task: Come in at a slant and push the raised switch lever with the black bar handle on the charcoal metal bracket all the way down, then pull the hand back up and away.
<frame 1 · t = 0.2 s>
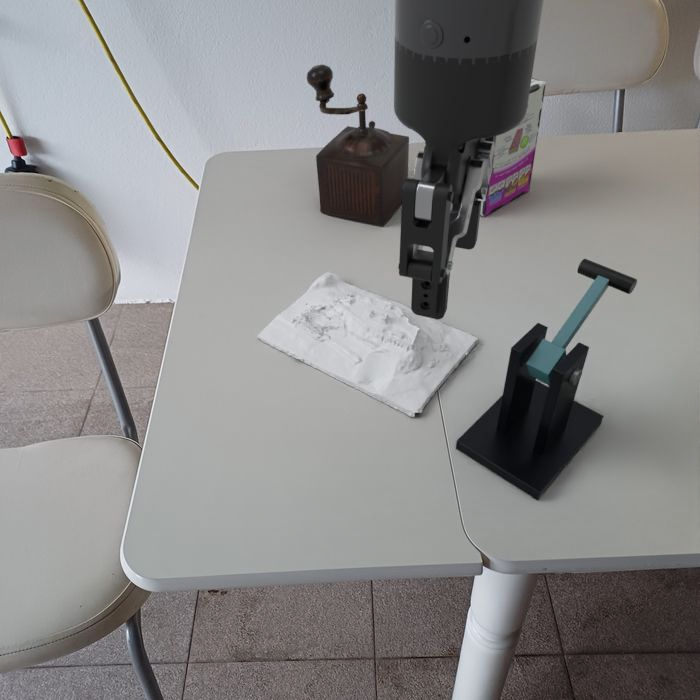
hand: (445, 277, 45), 23 cm above the table, tool pointing down, fingers open, 8 cm apart
candy bar box: (493, 199, 97), on the table
switch bracket: (529, 436, 63), on the table
terrain model: (366, 341, 75), on the table
switch lever: (575, 321, 57), point 12 cm above the table, hinge at 25.0°
manual coffee grinder: (350, 201, 98), on the table
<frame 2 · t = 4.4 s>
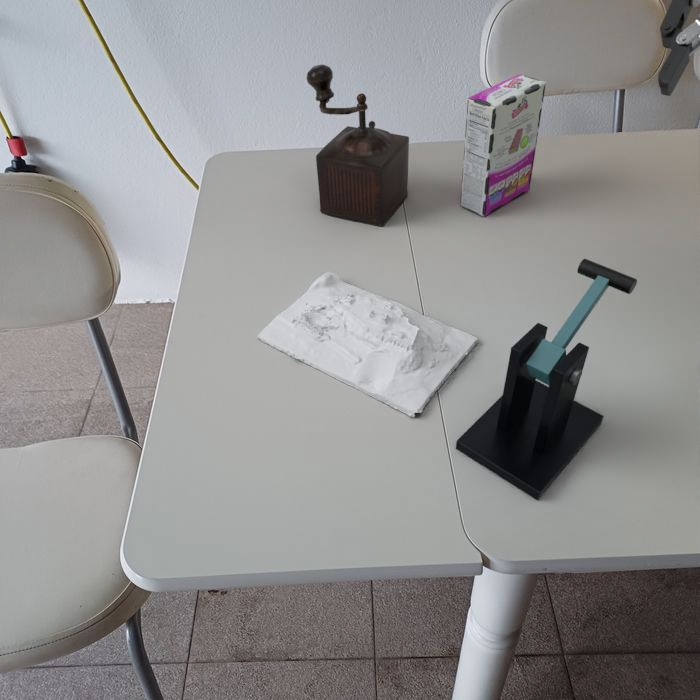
nothing on the table moved.
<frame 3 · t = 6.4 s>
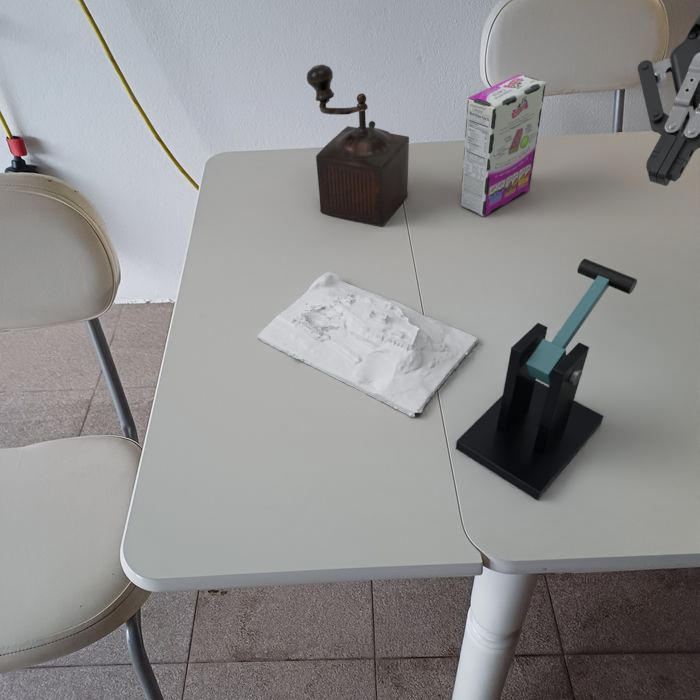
hand: (657, 180, 57), 21 cm above the table, tool tilted 45°, fingers closed
nothing on the table moved.
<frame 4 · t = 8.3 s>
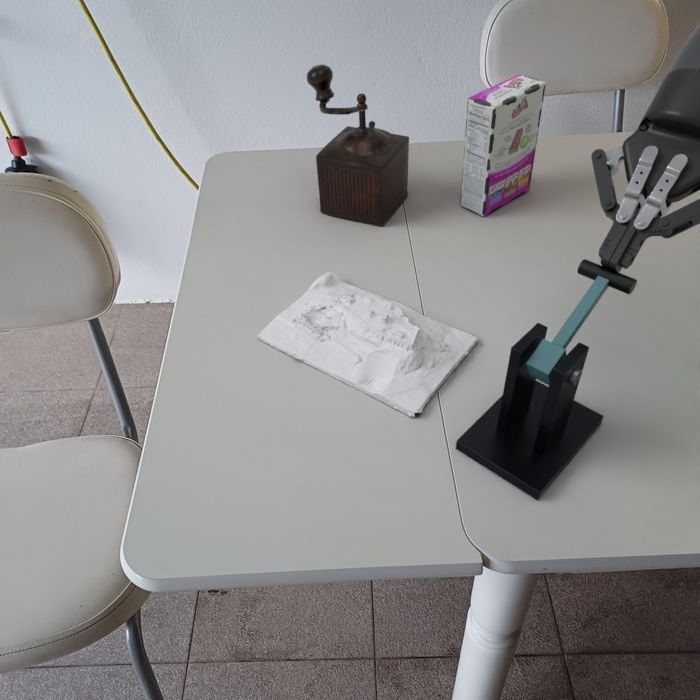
hand: (609, 267, 58), 15 cm above the table, tool tilted 45°, fingers closed
switch lever: (575, 321, 57), point 12 cm above the table, hinge at 24.6°, touching gripper
everything else where it was.
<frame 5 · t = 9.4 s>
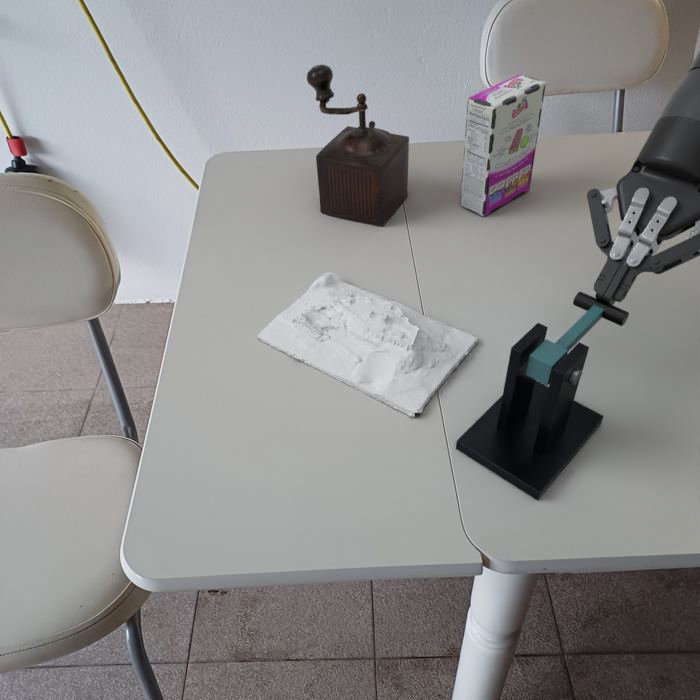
hand: (603, 301, 62), 10 cm above the table, tool tilted 45°, fingers closed
switch lever: (573, 336, 59), point 10 cm above the table, hinge at -0.7°, touching gripper
everything else where it was.
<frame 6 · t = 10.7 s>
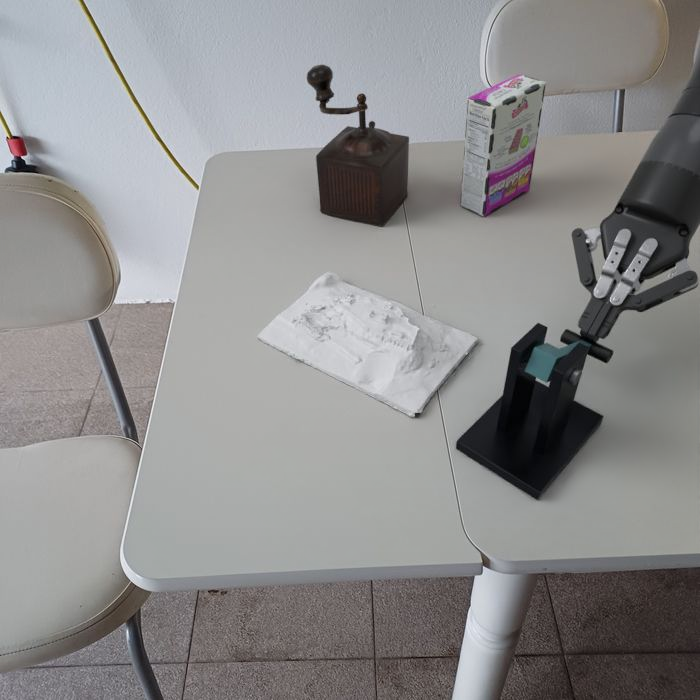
hand: (588, 338, 63), 7 cm above the table, tool tilted 45°, fingers closed
switch lever: (566, 354, 60), point 8 cm above the table, hinge at -25.4°, touching gripper
everything else where it was.
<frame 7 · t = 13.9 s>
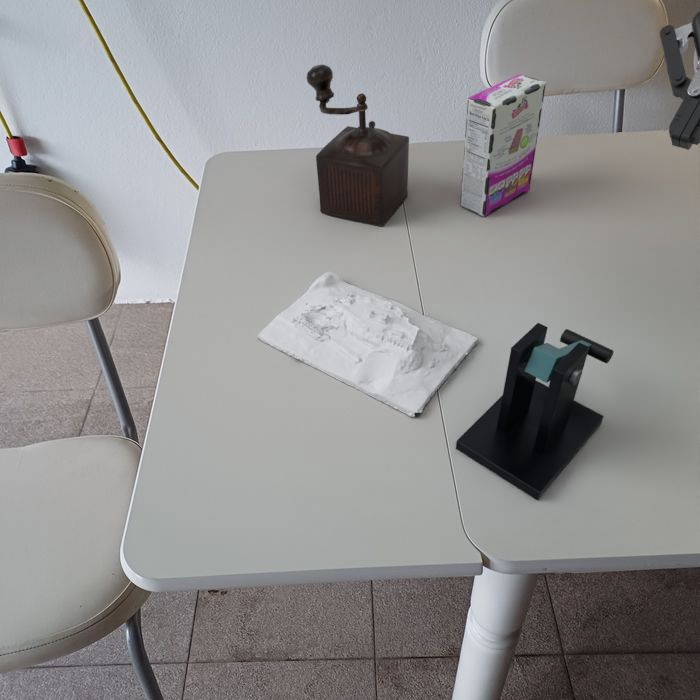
hand: (680, 144, 57), 23 cm above the table, tool tilted 45°, fingers closed
switch lever: (566, 354, 60), point 8 cm above the table, hinge at -25.5°
everything else where it was.
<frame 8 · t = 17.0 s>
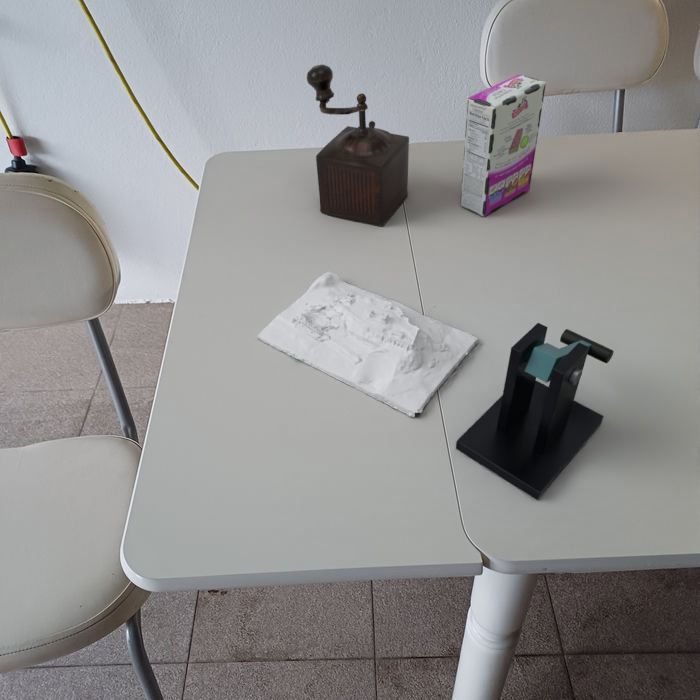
nothing on the table moved.
at the end: switch lever at -26° (first picture: +25°); manual coffee grinder moved 0.2 cm from its start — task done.
